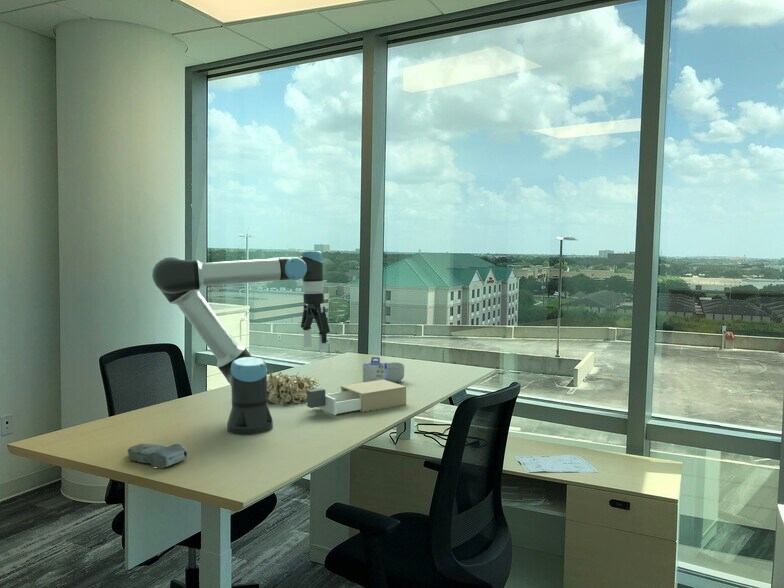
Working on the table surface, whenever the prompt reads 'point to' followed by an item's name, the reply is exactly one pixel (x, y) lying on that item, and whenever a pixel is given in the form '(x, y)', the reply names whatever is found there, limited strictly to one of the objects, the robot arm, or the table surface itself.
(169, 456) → the handheld device
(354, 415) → the table surface
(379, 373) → the ink cartridge box
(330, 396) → the tray
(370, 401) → the sleeve
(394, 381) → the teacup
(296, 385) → the dried lichen
